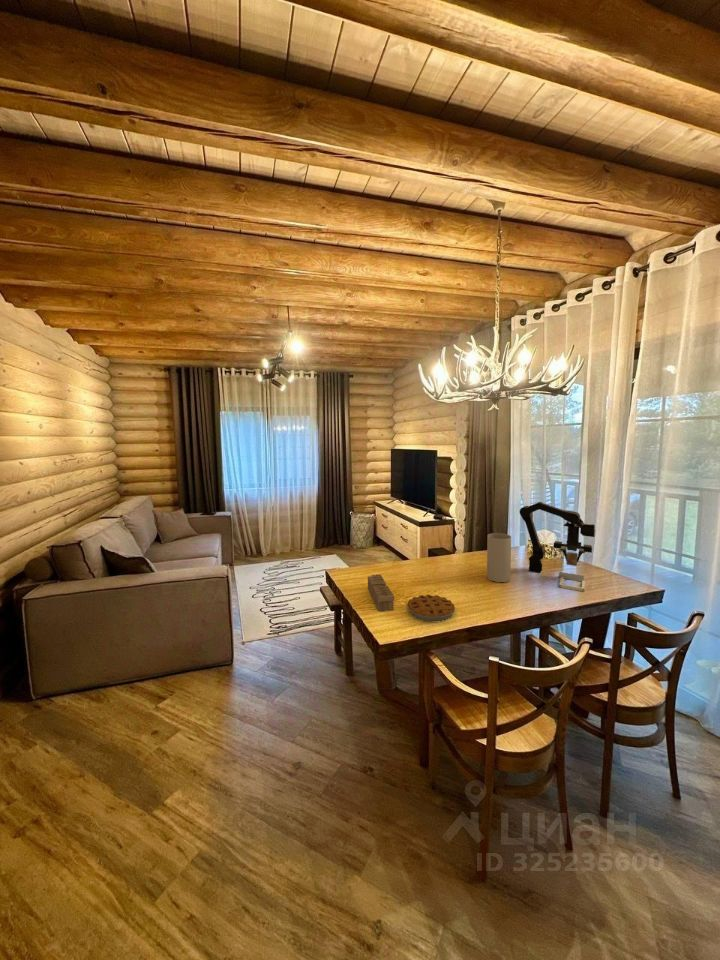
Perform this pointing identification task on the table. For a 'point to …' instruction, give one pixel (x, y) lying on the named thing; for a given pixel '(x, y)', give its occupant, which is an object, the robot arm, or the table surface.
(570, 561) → the block
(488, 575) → the cylinder vase
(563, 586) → the light wooden flat tray
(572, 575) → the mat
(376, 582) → the block tower
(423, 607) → the pie
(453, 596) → the table surface
